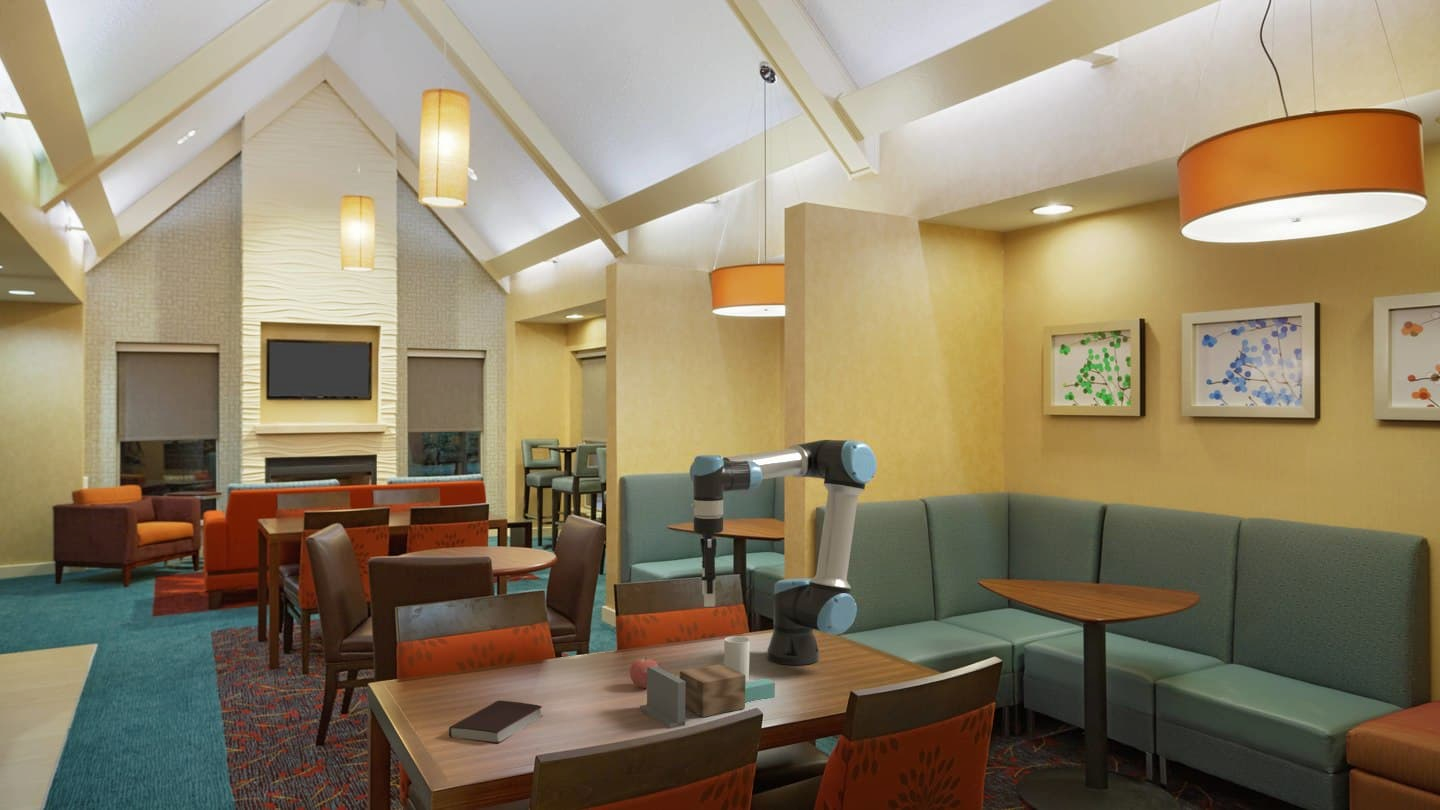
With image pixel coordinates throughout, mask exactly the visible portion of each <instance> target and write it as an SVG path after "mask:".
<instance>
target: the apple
mask: <svg viewBox="0 0 1440 810" xmlns="http://www.w3.org/2000/svg"><path fill="white" fill-rule="evenodd" d="M654 665H655V666H657V667H659V665H658V663H657V662H656V661H655V660H654V659H652V658H651V659H650V658H647V657H645V658H640V659H639V658H638V659H637V660H635V661H634V662H633V663H632V664H631V666H630V668H629V669H630V670H629V676H630V679H631V680H632V683H633V684H634V685H635V686H636V687H638V688H640V689H647V667H648V666H654Z"/></svg>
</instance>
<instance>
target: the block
mask: <svg viewBox="0 0 1440 810" xmlns="http://www.w3.org/2000/svg"><path fill="white" fill-rule="evenodd" d="M679 678H680V679H682V680H684V681H686V686H685V709H688V710H690V711H691V712H694V713H695V714H696V715H699V716H700V717H702V718H703V717H708V716H709V717H710V716H715V715H719V714H724V713H729V712H733V711H738V710H742V709H743V710H744V709H745V708H746V704H745V675H744V674H742V673H739V672H737V671H735V670H733V669H731V668H728V667H726V666H725V664H724V665H723V664H722V663H718V664H713V665H709V666H708V665H707V666H703V667H701V666H700V667H696V668H690V669H683V670H680V671H679Z"/></svg>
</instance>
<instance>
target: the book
mask: <svg viewBox="0 0 1440 810" xmlns="http://www.w3.org/2000/svg"><path fill="white" fill-rule="evenodd" d="M542 707H543V706H541V705H539V704H533V703H526V702H519V701H509V700H496V701H494V702H493V703H491V704H489V705H488V706H486V707H484V708H482V709H480V710H478V711H476V712H474V713H473V714H470V715H469V716H468V717H465V718H463V719H462V720H460V721H458V722H457V723H455V724H454V723H453V725H451V726H449V727H448V731H449V732H448V734H449V738H456V739H462V740H468V741H473V742H480V743H487V744H495V745H499V744H500V743H502V742H504V741H506V740H507V739H508V738H511V737H512V736H513V735H514V734H516V733H517V732H519V731H520V730H522V729H523V728H525V727H526V726H528V725H529V724H532V723H533V722H534V721H536V720H538V719H539V718H542V717H543V715H542V713H541V708H542Z"/></svg>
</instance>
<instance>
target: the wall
mask: <svg viewBox="0 0 1440 810" xmlns="http://www.w3.org/2000/svg"><path fill="white" fill-rule="evenodd" d="M685 686H686V681H684V680H682V679H680V677H678V676H676V675H674V674H672V673H670V672H668V671H667V670H665V669H662V668H661V667H659V666H658V667H657V666H655V665H654V666H648V667H647V688H646V704H643V705H641V704H640V705H639V710H640V711H642V712H643V713H644V714H646V715H648V716H649V717H651V718H653V719H654V720H656V721H658V722H659V723H661V724H662V725H664V726H665V727H667V728H669V729H671V728H672V729H673V728H677V727H682V726H683V727H684V726H686V707H685Z"/></svg>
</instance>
